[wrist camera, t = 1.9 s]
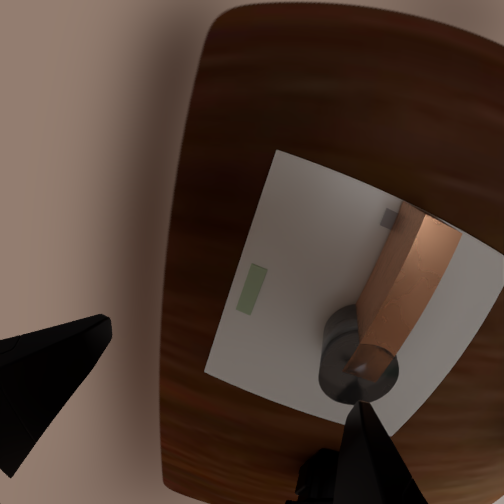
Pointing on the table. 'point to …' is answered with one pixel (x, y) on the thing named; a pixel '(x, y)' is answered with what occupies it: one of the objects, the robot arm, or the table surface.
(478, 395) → the table surface
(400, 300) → the lever
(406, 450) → the table surface
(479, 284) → the base plate
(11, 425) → the robot arm
